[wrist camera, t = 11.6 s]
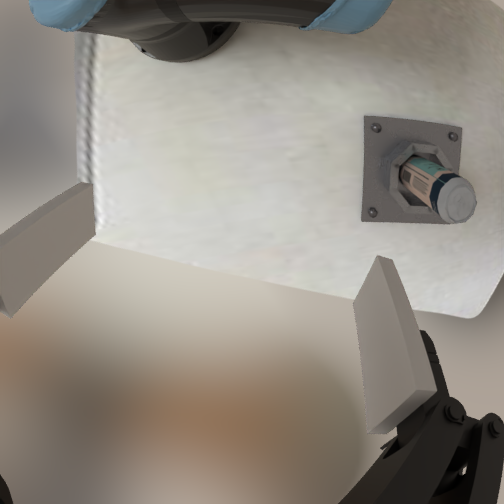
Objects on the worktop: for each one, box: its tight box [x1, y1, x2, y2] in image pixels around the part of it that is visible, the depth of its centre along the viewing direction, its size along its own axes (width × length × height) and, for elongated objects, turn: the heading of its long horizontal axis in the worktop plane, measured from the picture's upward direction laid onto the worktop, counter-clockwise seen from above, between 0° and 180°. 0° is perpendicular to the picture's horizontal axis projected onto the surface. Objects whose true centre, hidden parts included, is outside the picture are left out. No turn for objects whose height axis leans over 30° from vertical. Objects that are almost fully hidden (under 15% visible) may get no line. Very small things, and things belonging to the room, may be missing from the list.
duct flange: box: [361, 116, 462, 224], centre depth 32 cm, size 14×14×4 cm
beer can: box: [400, 156, 477, 224], centre depth 27 cm, size 5×5×12 cm
